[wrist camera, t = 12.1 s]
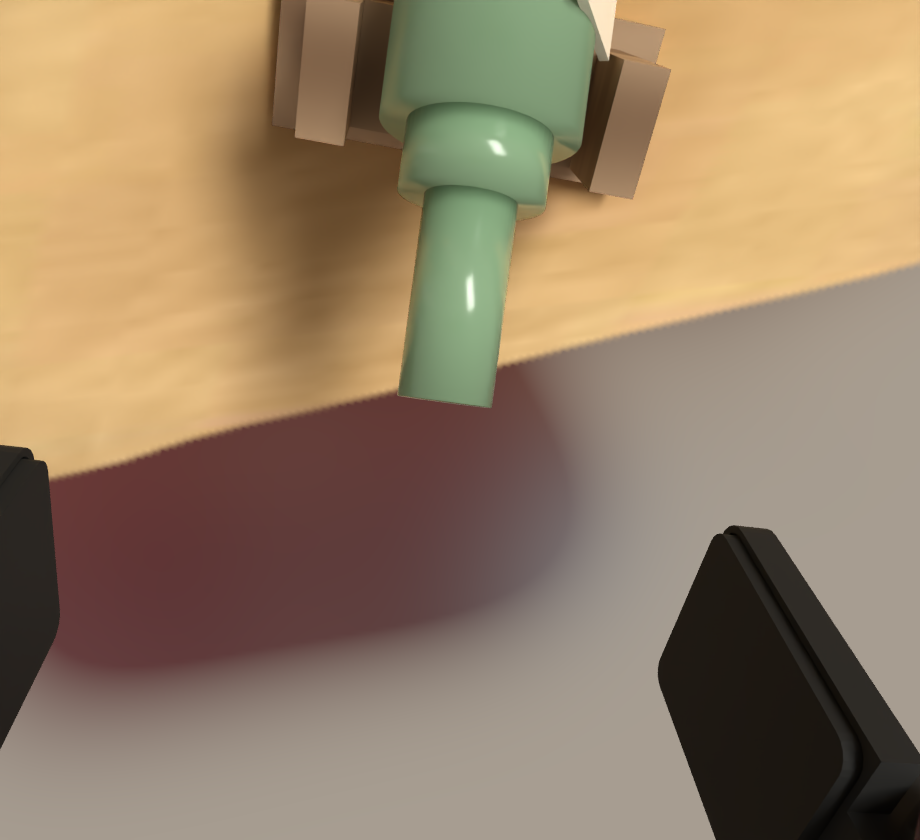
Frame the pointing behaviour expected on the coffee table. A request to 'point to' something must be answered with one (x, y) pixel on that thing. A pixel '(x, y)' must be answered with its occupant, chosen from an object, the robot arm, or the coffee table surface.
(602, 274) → the coffee table surface
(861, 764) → the robot arm
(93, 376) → the coffee table surface
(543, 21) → the green bottle
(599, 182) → the cradle
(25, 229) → the coffee table surface
